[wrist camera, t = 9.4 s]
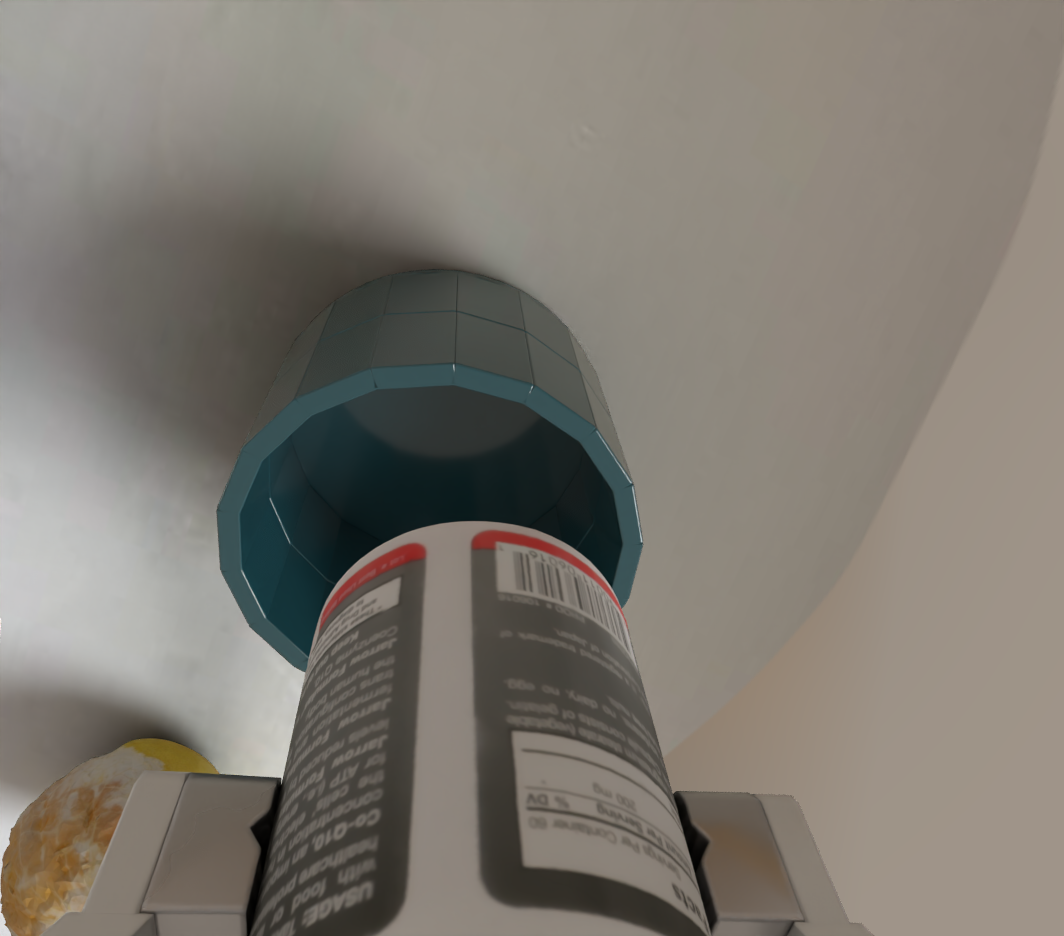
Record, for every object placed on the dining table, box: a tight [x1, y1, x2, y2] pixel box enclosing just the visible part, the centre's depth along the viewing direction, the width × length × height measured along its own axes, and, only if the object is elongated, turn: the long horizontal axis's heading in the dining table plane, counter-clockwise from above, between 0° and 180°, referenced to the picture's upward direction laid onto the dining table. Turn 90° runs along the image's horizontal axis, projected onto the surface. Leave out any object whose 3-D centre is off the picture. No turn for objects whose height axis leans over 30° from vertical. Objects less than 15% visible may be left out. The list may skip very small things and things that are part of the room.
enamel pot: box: [217, 269, 643, 673], centre depth 30 cm, size 13×14×9 cm
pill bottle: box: [249, 521, 712, 936], centre depth 9 cm, size 5×5×8 cm
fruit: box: [1, 738, 219, 936], centre depth 38 cm, size 10×11×10 cm
